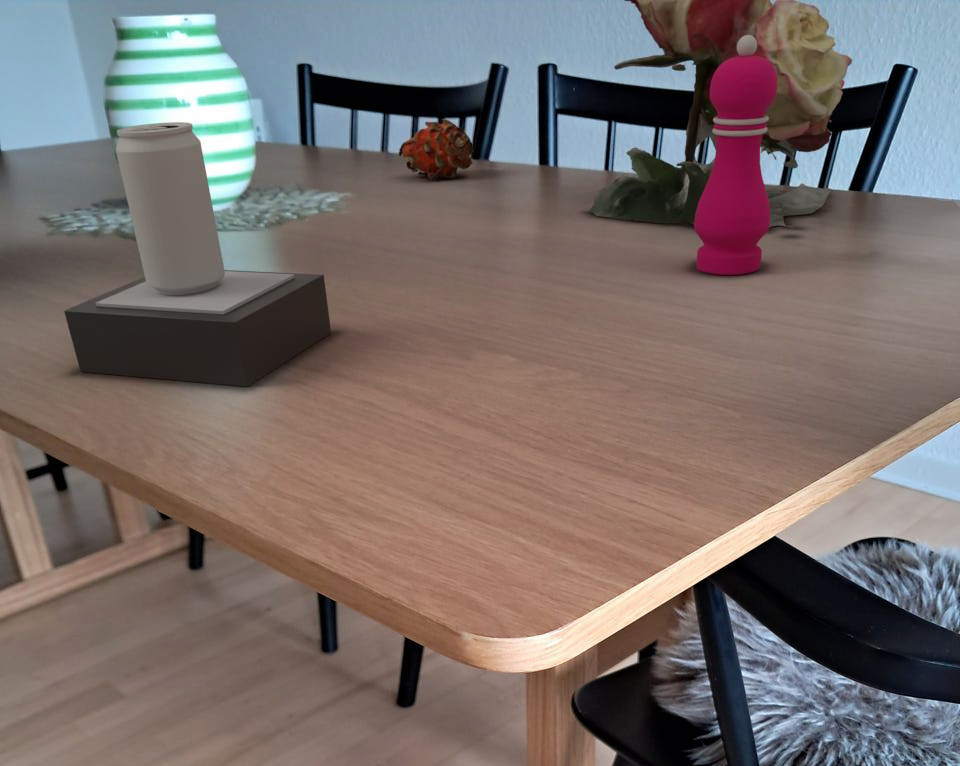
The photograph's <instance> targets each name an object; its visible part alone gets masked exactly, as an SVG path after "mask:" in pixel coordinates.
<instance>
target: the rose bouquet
mask: <svg viewBox="0 0 960 766" xmlns="http://www.w3.org/2000/svg"><path fill="white" fill-rule="evenodd" d="M623 1H624V2H630V3H631V4H634V7H636V9H637V11H638V12H639V13H640V19H642V22H643V25H644V26H645V29H646V30H647V32H648V34H650V36H651V37H652V39H653V41H654V42H655V44H656V45H657V47H658V49H662V51H663V54H655V55H649V56H645V57H638V58H632V59H628V60H624V61H621V62H618V63H617V64H615V65H614V66H613V68H614V70H616V71H617V70H621V69H624V68H629V67H636V68H637V67H640V68H641V67H642V68H659V69H660V68H661V69H663V68H669V67H671V69H672V71H676V72H677V71H678V72H684V71H685V72H686V71H687V68H686V65H685V64H681V63H685V62H690V61H692V62H693V63H692V66H694V65H695V75H694V79H695V81H694V84H693V89H694V92H693V102H692V105H691V107H690V109H689V115H688V120H687V121H688V122H687V127H686V131H685V136H686V139H685V147H684V158H685V159H684V161H680V162H678V163H676V166H674V165H673V164H671V163H670V162H667V161H665V160H663V159H661V158H658V157H655V156H654V155H653V154H651V153H650V152H647V151H646V150H645V149H640V148H638V147H632V148H631V149H629V150H627V151H626V152H625V153H626V155H627V156H629V159H630V160H631V168H630V169H631V170H632V171H633V172H634V173H635V174H636V175H637V176H638V177H634V176H628V175H625V174H623V175H621V176H619V177H618V178H616V179H614V180H613V182H612V183H610V184H609V185H608V186H607V187H603V188H601V189H600V190H597V191H596V193H595V197H594V200H593V205H592V207H590V209H589V210H588V211H589V213H591V214H594V215H595V216H597V217H602V218H610V219H615V220H624V221H636V222H638V221H639V222H647V223H655V224H656V223H657V224H663V225H665V224H666V223H670V224H673V223H680V222H682V223H687V224H691V225H694V221H695V214H696V210H697V207H698V203H699V200H700V198H701V196H702V194H703V191H704V189H705V187H706V185H707V183H708V180H709V178H710V175H711V172H712V169H713V165H714V160H715V157H714V158H713V159H712V160H711V162H710V163H700V162H698V161H697V159H696V150H697V148H698V146H699V145H701V143H703V142H704V141H705V140H706V139H707V138H708V137H709V138H710V140H711V142H712V145H713V148H714V150H715V151H716V135H715V134H714V133H713V132H712V130H713V128H714V124H715V123H714V122H713V119H714V118H715V117H716V116H718V113H717V110H716V109H715V107H714V106H713V104H712V102H711V100H710V85H711V80H712V78H713V75H714V73H715V71H716V70H717V68H718V67H719V66H720V65H721V64H722V63H723V62H725V61H726V60H728V59H730V58H732V57H736V56H740V55H739V54H738V52H737V44H738V41H739V40H740V39H741V38H742V37H743V36H745V35H751V36H753V37H754V38H755V39H756V41H757V49H756V51H755V53H754V54H753V55H755V56H759V57H762V58H764V59H766V60H767V61H769V62H770V63H771V64H772V65H773V67H774V69H775V71H776V75H777V93H776V96H775V99H774V100H773V102H772V103H771V105H770V106H769V107H768V108H767V110H766V112H765V114H764V115H767V116H768V117H769V120H768V121H767V122H766V123H767V126H766V127H767V129H768V130H767V132H766V133H764V134H763V135H762V141H761V147H760V154H762V153H763V152H766V154H767V155H772V156H773V159H774V160H775V161H777V156H776V155H775V154H774V153H776V152H780V153H782V154H784V155H786V156H787V157H788V158H789V159H790V160H789V161H786V162H783V163H782V164H783V165H784V166H785V167H787V168H790V169H797V168H799V167H798V166H799V164H798V161H797V160H796V158H795V157H794V155H793V154H794V152H800V153H813V152H815V151H819V150H821V149H822V148H823V147H825V146H826V145H827V144H829V143H830V141H831V137H832V136H833V134H832V131H831V130H829V128H828V127H827V126H828V123H832V120H831V119H830V117H831V116H832V114H833V112H834V110H835V109H836V107H837V105H838V104H839V103H840V101H841V99H842V96H843V94H844V91H842V89H843V87H844V86H845V80H844V79H845V77H846V75H847V73H848V68H849V67H850V66H851V65H852V62H853V59H852V58H851V57H850V56H848V55H847V54H843V53H839V52H837V51H835V50H834V49H833V47H835V46H836V45H837V43H836V42H835V37H833V36H831V35H828V34H827V32H828V31H829V29H830V24H829V21H828V20H827V18H825V17H823V16H822V15H821V14H820V12H821V11H820V10H819V8H818V7H817V6H816V5H814V4H812V5H811V4H808V3H805V2H802V1H797V0H774V1H773V3H772V2H771V0H623ZM575 89H576V88H575V87H573V90H575ZM831 192H832V189H831V188H829V187H825V188H818V187H815V186H809V185H806V184H804V183H803V182H802V183H800V184H799V185H798V186H797V187H795V188H794V189H792V190H785V191H766V193H767V196H768V199H769V205H770V226H769V228H771V227H775V226H780V227H789V228H793V225H792V226H791V225H786V224H785V222H784V216H798V215H799V216H800V215H810V214H813V213H814V212H816V211H817V210H819V209H820V208H822V207H823V206H824V204H826V201H827V199H828V196H829V195H830V193H831ZM791 235H792V234H791Z"/></svg>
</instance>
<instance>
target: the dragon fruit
mask: <svg viewBox="0 0 960 766" xmlns="http://www.w3.org/2000/svg"><path fill="white" fill-rule="evenodd" d="M442 121H443V122H442V123H439V122H438V121H425V122H424V124H425V126H426V127H425V128H420V129H419V130H418V131H416V132H415V133H414V135H413V137H411V138H409V139H408V140H406V141H404V142H403V143H402V144H401V146H400V147H399V149H398V152H397V153H396V154H398V157H399V158H400V157H401V156H402V157H403V158H407V159H408V161H406V164H405V165H406V168H407V169H408V170H410V171H411V172H412V173H417V175H418V176H425V177H426V178H428V179H430V180H431V181H434V180H436V179H437V178H438V177H440V176H441V175H442V176H443V175H444V176H443V177H445V178H446V179H455V178H456V177H457V171H458V168H459V169H461V170H464V169H468V168H470V167H471V166H472V165H473V163H474V162H473V161H472V157H471V155H472V154H473V153H474V144H473V142H472V141H471V138H470V137H469V135H468V134H467V133H466V132H465V130H464V129H463V128H462V127H460V126H457V125H456V124H455V123H454V122H452V121H451V120H449V119H447V118H442Z"/></svg>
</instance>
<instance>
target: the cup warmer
mask: <svg viewBox="0 0 960 766" xmlns="http://www.w3.org/2000/svg"><path fill="white" fill-rule="evenodd" d="M224 270H225V276H224V277H223V278H222V279H221V280H220V281H219V284H218V286H216V287H215V288H212V289H210V290H207V291H203V292H199V293H194V294H187V295H163V294H159V293H158V292H157V291H156V289H154V288H152V287H150V286H149V285H148V284H147V283H146V279H145V276H143V277H141V278H138V279H136V280H134V281H131V282H129V283H127V284H124V285H121V286H119V287H117V288H115V289H112V290H110V291H107V292H105V293H103V294H101V295H98V296H96V297H93V298H91V299H88V300H86V301H83V302H81V303H79V304H77V305H74V306H72V307H69V308H67V309H64V310H63V312H64V313H63V314H64V317H65V321H66V324H67V327H68V331H69V334H70V338H71V342H72V347H73V350H74V352H75V357H76V360H77V364H78V368H79V371H80V373H90V374H103V375H113V376H124V377H135V378H145V379H146V378H147V379H158V380H168V381H169V380H170V381H179V382H192V383H201V384H202V383H203V384H212V385H213V384H214V385H224V386H235V387H236V386H237V387H247V388H248V387H250V386H251V385H252V384H254V383H256V382H257V381H258V380H260V379H261V378H263V377H265V376H267V375H268V374H270V373H271V372H273V371H274V370H276V369H277V368H279V367H280V366H282V365H284V364H285V363H287V362H288V361H290V360H291V359H293V358H294V357H296V356H297V355H299V354H301V353H303V352H304V351H305V350H307V349H309V348H310V347H311V346H313V345H315V344H317V343H318V342H319V341H322V340H323V339H324V338H326V337H327V336H329V335H331V334H332V327H331V320H330V311H329V304H328V298H327V297H328V296H327V290H326V282H325V274H317V273H299V272H298V273H297V272H295V273H294V272H277V271H276V272H275V271H256V270H255V271H254V270H252V271H251V270H233V269H232V270H231V269H224Z"/></svg>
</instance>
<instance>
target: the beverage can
mask: <svg viewBox="0 0 960 766" xmlns="http://www.w3.org/2000/svg"><path fill="white" fill-rule="evenodd" d="M193 129H194V127H193V123H191V122H184V121H181V122H179V121H176V122H175V121H174V122H172V121H171V122H170V121H169V122H157V123H156V122H155V123H147V124H146V123H145V124H139V125H132V126H127V127H122V128H118V129H117V130H116V134H117V136H118V138H119V139H118V142H117V144H116V148H115V152H116V153H115V154H116V158H117V163H118V166H119V171H120V174H121V179H122V183H123V187H124V192H125V196H126V197H125V198H126V200H127V205H128V209H129V213H130V218H131V223H132V227H133V231H134V236H135V239H136V240H135V241H136V244H137V248H138V253H139V257H140V262H141V266H142V270H143V274H144V277H145V279H146V283H147V284H148V285H149V286H150V287H152V288H154V289H156V291H157V292H158V293H159V294H163V295H187V294H194V293H199V292H203V291H207V290H210V289H212V288H215V287H216V286H218V284H219V281H220V280H221V279H222V278H223V277H224V276H225V270H226V269H225V265H224V261H223V254H222V249H221V245H220V239H219V233H218V229H217V222H216V218H215V212H214V207H213V202H212V196H211V191H210V185H209V181H208V174H207V168H206V163H205V158H204V153H203V148H202V143H201V140H200V138H199V137H198V136H197V135H196V134H195V133H194V131H193Z"/></svg>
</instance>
